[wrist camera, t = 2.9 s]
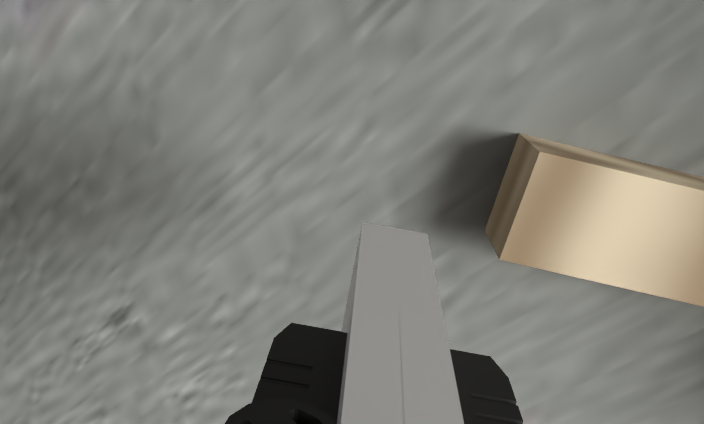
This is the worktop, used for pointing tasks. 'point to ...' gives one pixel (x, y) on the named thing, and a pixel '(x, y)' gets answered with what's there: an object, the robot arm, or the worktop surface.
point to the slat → (601, 219)
